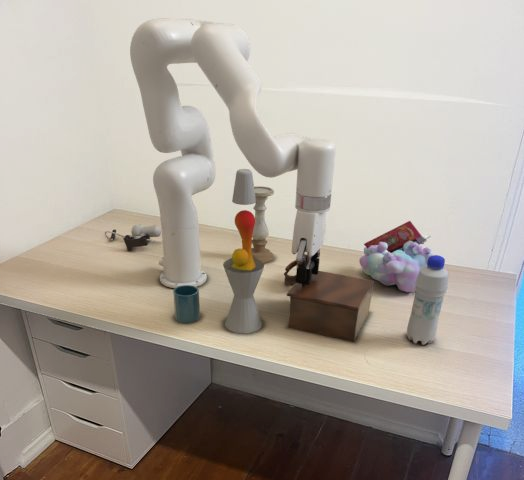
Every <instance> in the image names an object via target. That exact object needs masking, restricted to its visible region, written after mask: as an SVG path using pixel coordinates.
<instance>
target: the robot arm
mask: <svg viewBox="0 0 524 480" xmlns="http://www.w3.org/2000/svg"><path fill="white" fill-rule="evenodd" d="M131 37H132V38H131V41H130V46H129V56H130V62H131V66H132V70H133V73H134V76H135V80H136V82H137V86H138V88H139V92H140V97H141V102H142V107H143V111H144V117H145V121H146V126H147V130H148V135H149V138H150V141H151V144H152V146H153V147H154V149H155V150H156V151H157V152H160V153H163V154H170V153H175V152H176V153H177V152H179V151H180V153H181V155H180V156H176V157H172V158H169V159H167V160H164V161H162V162H160V164H158V166H156V167H155V170H154V172H153V175H152V182H153V189H154V191H155V195H156V199H157V203H158V208H159V216H160V226H161V227H160V229H161V238H162V239H161V241H162V253H163V256H162V260H159V261H158V265H159V266H161V267H162V269H163V270H162V272H161V273H160V275H159V281H160V283H161V284H162V285H163V286H165V287H167V288H170V289H175V288H176V287H179V286H183V285H191V286H195V287H197V288H198V287H200V286H202V285H203V284H204V283H205V282H206V281H207V278H208V277H207V273H206V272H205V271H204V270H203V269H201V250H200V249H201V248H200V246H201V245H200V228H199V227H200V225H199V214H198V213H199V212H198V211H197V207H196V204H195V203H194V201H193V197H192V196H195V195H196V194H199V193H201V192H204V191H206V190H208V189H210V187H211V186H212V185H213V184H214V182H215V181H216V180H215V179H216V162H215V158H214V157H215V156H214V151H213V144H212V139H211V132H210V128H209V124H208V121H207V119H206V117H205V116H204V114H203V113H202V111H200V109H198V108H196V107H194V106H193V105H182V103H181V100H180V95H179V94H180V93H179V89H178V86H177V82H176V81H175V78H174V76H173V75H172V73H171V71H169V69H168V66H169V65H173V64H174V65H175V64H177V65H179V64H197V66H198V67H199V68H200V69H201V71H202V72H203V74H204V76H205V77H206V78H207V80H208V81H209V83H210V84H211V86H212V87H213V88H214V90H215V92H216V93H217V95H218V96H219V97H220V99H221V100H222V102H223V103H224V104H225V106H226V107H227V109H228V113H229V114H228V115H229V123H230V127H231V132H232V136H233V138H234V141H235V143H236V145H237V147H238V149H239V150H240V152H241V154H242V155H243V156H244V157H245V159H246V161H247V162H248V164H249V165H250V166H251V167H252V169H254V171H255V172H257V173H258V174H260V175H261V176H262V177H265V178H269V179H270V178H276V177H279V176H282V175H284V174H286V173H289V172H293V171H297V172H296V185H295V186H296V189H295V204H294V205H295V206H294V208H295V209H296V214H295V218H294V225H293V233H292V241H291V243H292V244H291V253H292V255H296V256H295V260H296V261H297V266H296V271H295V273H296V274H295V275H296V283H299V284H304V285H309V284H310V275H311V268H310V262H311V260H313V261H314V262H315V266H314V267H313V269H312V274H315V275H317V274H318V271H320V270H319V268H320V260H321V259H320V256H321V248H322V246H323V245H324V243H325V236H326V228H327V227H326V226H327V212H329V211H330V210H331V204H332V194H333V193H332V192H333V181H334V171H335V160H336V159H335V158H336V145H335V143H334V142H333V141H331V140H330V139H325V138H311V137H308V136H304V135H301V134H299V133H295V132H286V133H285V132H284V133H282V134H278V135H274V136H272V135H271V134H270V132H269V131H268V129H267V128H266V126H265V125H264V123H263V121H262V120H261V118H260V115H259V112H258V108H257V100H258V97H259V95H260V94H261V91H262V81H261V80H260V79H259V76H258V75H257V74H256V73H255V71H254V70H253V68H252V67H251V65H250V64H249V63H248V61H249V58H250V56H251V43H250V39H249V37H248V35H247V33H246V32H245V30H244V29H243V28H241V27H240V26H239V25H236V24H234V23H223V22H214V21H207V20H201V19H191V18H171V17H170V18H168V17H159V18H158V17H157V18H152V19H148V20H146V21H144V22H142V23H141V24H140V25H139V26H138V27H137V28H136V30H135V31H134V33H133V35H132V36H131ZM306 253H307V254H306ZM304 257H306V260H304Z"/></svg>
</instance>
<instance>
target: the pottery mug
mask: <svg viewBox="0 0 524 480" xmlns="http://www.w3.org/2000/svg"><path fill="white" fill-rule="evenodd" d="M304 260H306V257H304ZM295 267H297V261H296V259H295V260H293V261H291V262H290V263H289V264H287V265H286V266H285V268H284V270H285V271H284V273H283V276H284V284H285V285H286V286H287V285H288V286H294V284H295V283H296V274H294V275H289V272H290V271H292V269H294V268H295Z"/></svg>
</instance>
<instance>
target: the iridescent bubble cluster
mask: <svg viewBox="0 0 524 480" xmlns="http://www.w3.org/2000/svg"><path fill="white" fill-rule="evenodd" d="M429 238H431V235H428V234H425V235H422V234H421V233H420V232H419V231H418V229H417V228H416V226H415V225H414V224H413V222H412V221H411V220H408V221H406V222H404V223H403V224H400V225H399V226H396V227H395V228H393V229H390V230H388V231H386V232H384V233H383V234H381V235H379V236H376V237H375V238H372V239H370V240H369V241H367V242H364V243H363V245H364V248H363V254H364V255H363V256H360V258H359V265H360V266H361V269H362V272H363V273H364V274H365V275H369V276H370V277H371V279H373V280H374V281H378V282H380V283H381V284H382V285H383V286H394V285H396V286H397V289H398V290H400V291H402V292H403V293H404V292H405V293H412V292H414V291H415V282H416V279H417V276H418V273H419V270H420V269H421V268H422V267H424V266H427V262H428V259H429V257H430V256H433V255H434V254H433V253H431V252H432V249H431V248H430V247H429V246H426V247H423V246H422V245H425V243H426V242H427V240H428V239H429Z"/></svg>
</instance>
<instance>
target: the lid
mask: <svg viewBox="0 0 524 480" xmlns="http://www.w3.org/2000/svg"><path fill="white" fill-rule="evenodd" d="M314 266H315V262H314V261H313V260H311V262H310V268H311V275H310V284H309V285H304V284H299V283H295V284H294V285H292V286H291V288H290V289H289V290H288V291H287V293H286V296H287V297H289V298H290V297H294V298H299V299H304V300H309V301H313V302H318V303H323V304H328V305H333V306H338V307H343V308H348V309H352V310H357V311H358V310H359V308H360V306H361V305H362V303H363V301H364V299H365V297H366V296H367V294H368V292H369V290H370V288H371V287H372V285H373V286H374V281H375V280H371V279H367V278H360V277H356V276H351V275H344V274H339V273H333V272H328V271H323V270H318V274H317V275H315V274H312V269H313V267H314Z"/></svg>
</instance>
